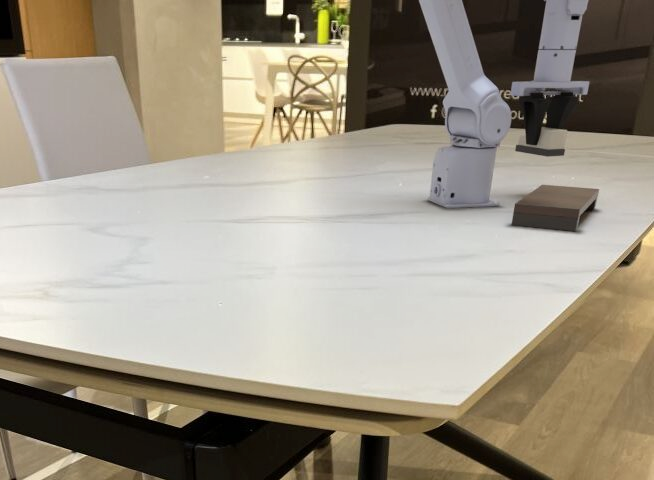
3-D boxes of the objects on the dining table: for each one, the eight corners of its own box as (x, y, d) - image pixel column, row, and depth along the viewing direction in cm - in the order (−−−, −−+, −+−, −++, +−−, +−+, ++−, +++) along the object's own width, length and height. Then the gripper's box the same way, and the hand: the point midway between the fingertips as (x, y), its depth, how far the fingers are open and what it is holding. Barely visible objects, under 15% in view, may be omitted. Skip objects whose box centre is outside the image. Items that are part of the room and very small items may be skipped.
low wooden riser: (575, 231, 105) (579, 209, 103) (511, 225, 109) (514, 203, 107) (595, 208, 120) (599, 188, 119) (538, 203, 124) (541, 184, 122)
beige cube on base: (564, 155, 123) (568, 130, 121) (547, 156, 122) (551, 131, 120) (531, 150, 129) (535, 126, 127) (514, 151, 128) (518, 126, 126)
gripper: (573, 50, 123) (557, 140, 131) (504, 49, 118) (491, 143, 125) (605, 50, 118) (586, 144, 125) (534, 49, 113) (519, 147, 120)
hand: (540, 144), depth 125 cm, fingers closed on beige cube on base, 3 cm apart
